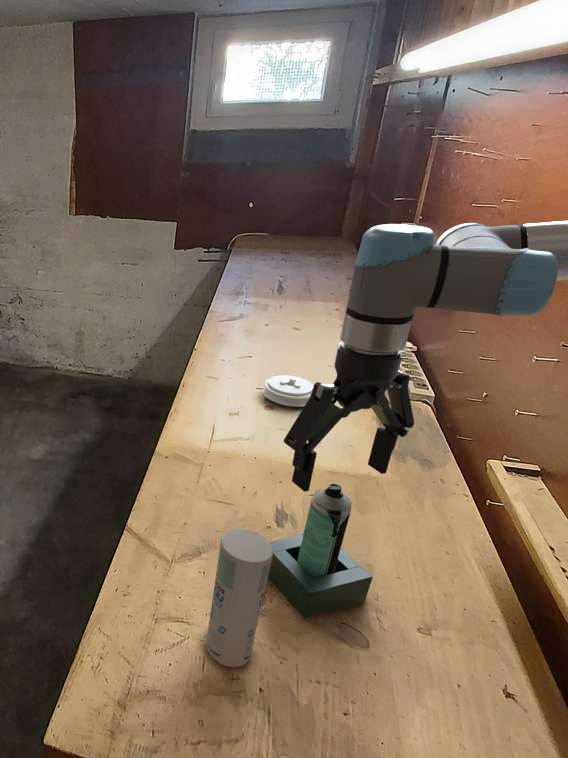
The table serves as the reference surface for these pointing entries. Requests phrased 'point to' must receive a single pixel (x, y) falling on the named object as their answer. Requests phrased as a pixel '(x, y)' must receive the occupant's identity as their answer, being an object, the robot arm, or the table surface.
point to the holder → (316, 580)
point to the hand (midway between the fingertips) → (339, 477)
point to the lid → (288, 390)
